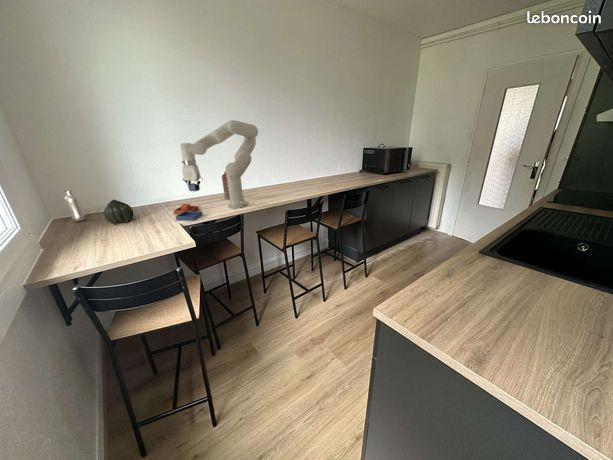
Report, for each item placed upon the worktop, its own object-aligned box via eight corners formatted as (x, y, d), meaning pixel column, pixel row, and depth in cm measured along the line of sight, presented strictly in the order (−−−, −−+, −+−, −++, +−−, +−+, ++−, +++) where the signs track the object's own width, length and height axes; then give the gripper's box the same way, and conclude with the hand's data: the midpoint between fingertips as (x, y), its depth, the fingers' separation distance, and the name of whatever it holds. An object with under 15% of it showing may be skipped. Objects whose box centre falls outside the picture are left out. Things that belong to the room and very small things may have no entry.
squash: (123, 218, 150) (125, 195, 155) (96, 220, 148) (99, 198, 153) (136, 226, 164) (138, 205, 168) (112, 228, 162) (114, 207, 166)
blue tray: (202, 214, 171) (202, 211, 170) (193, 220, 160) (193, 217, 159) (186, 214, 172) (185, 210, 171) (176, 220, 162) (175, 216, 161)
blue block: (199, 189, 173) (198, 183, 171) (195, 191, 169) (194, 184, 167) (193, 189, 174) (192, 183, 172) (189, 191, 170) (188, 184, 168)
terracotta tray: (199, 209, 182) (198, 206, 181) (190, 214, 172) (189, 210, 171) (183, 208, 184) (182, 205, 183) (174, 213, 174) (173, 210, 173)
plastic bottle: (89, 219, 165) (77, 189, 157) (77, 223, 159) (65, 192, 151) (82, 218, 167) (71, 189, 159) (70, 222, 161) (58, 191, 153)
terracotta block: (191, 209, 179) (190, 203, 178) (187, 212, 175) (186, 205, 174) (185, 209, 180) (184, 203, 178) (181, 211, 176) (180, 205, 174)
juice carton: (231, 196, 213) (227, 170, 205) (236, 197, 210) (233, 171, 201) (224, 198, 208) (220, 171, 200) (230, 199, 205) (226, 172, 196)
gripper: (174, 163, 162) (179, 191, 169) (198, 164, 160) (203, 192, 167) (181, 161, 169) (186, 188, 176) (204, 162, 166) (208, 189, 173)
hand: (194, 190), depth 171 cm, fingers closed on blue block, 4 cm apart
